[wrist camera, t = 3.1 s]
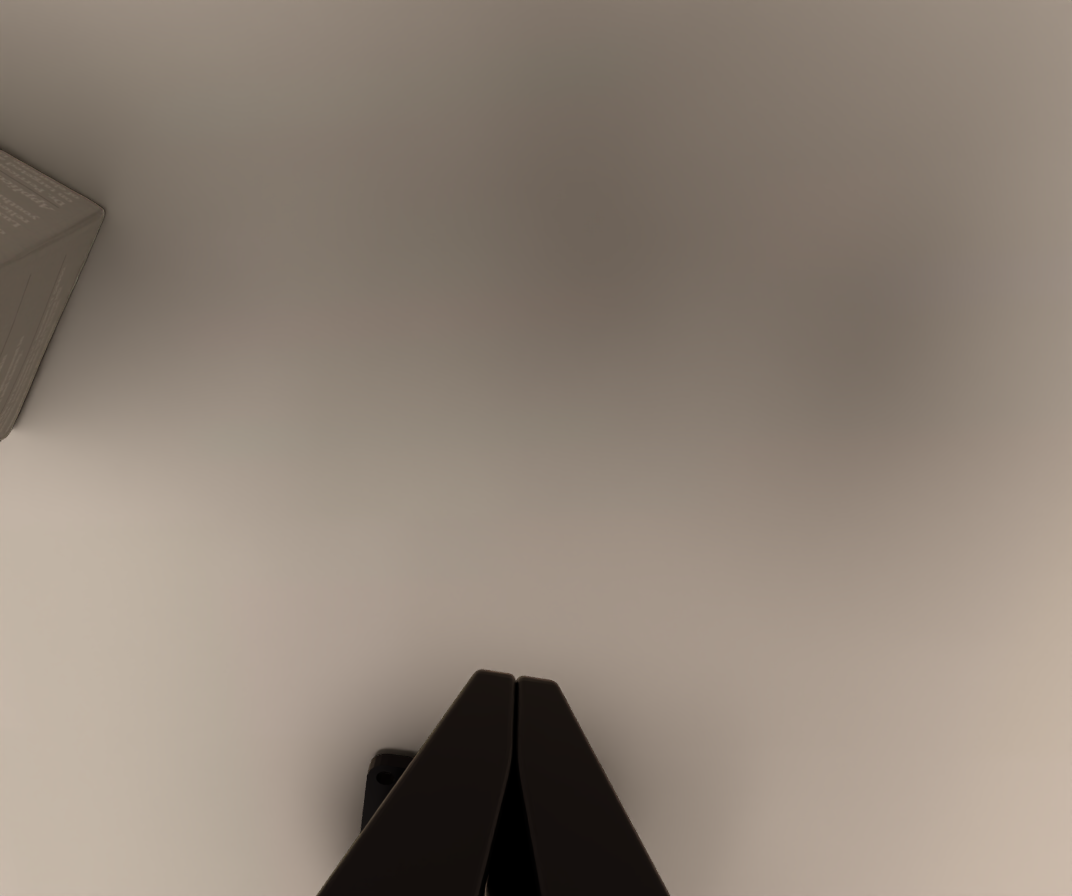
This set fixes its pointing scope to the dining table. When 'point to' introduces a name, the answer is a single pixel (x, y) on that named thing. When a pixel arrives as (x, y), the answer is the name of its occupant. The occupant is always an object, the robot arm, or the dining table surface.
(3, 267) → the skincare box
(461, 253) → the dining table surface
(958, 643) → the dining table surface
